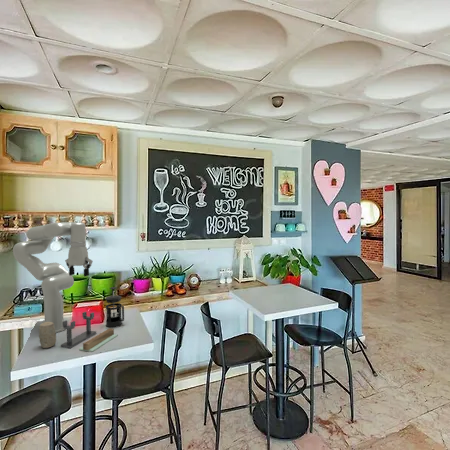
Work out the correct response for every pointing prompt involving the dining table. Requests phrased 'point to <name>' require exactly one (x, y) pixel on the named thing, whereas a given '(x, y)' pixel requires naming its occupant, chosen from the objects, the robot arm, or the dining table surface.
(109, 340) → the mat
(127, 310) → the dining table surface
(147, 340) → the dining table surface
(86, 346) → the bar
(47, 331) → the carving
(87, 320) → the rail stand
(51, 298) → the robot arm
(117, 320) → the french press
